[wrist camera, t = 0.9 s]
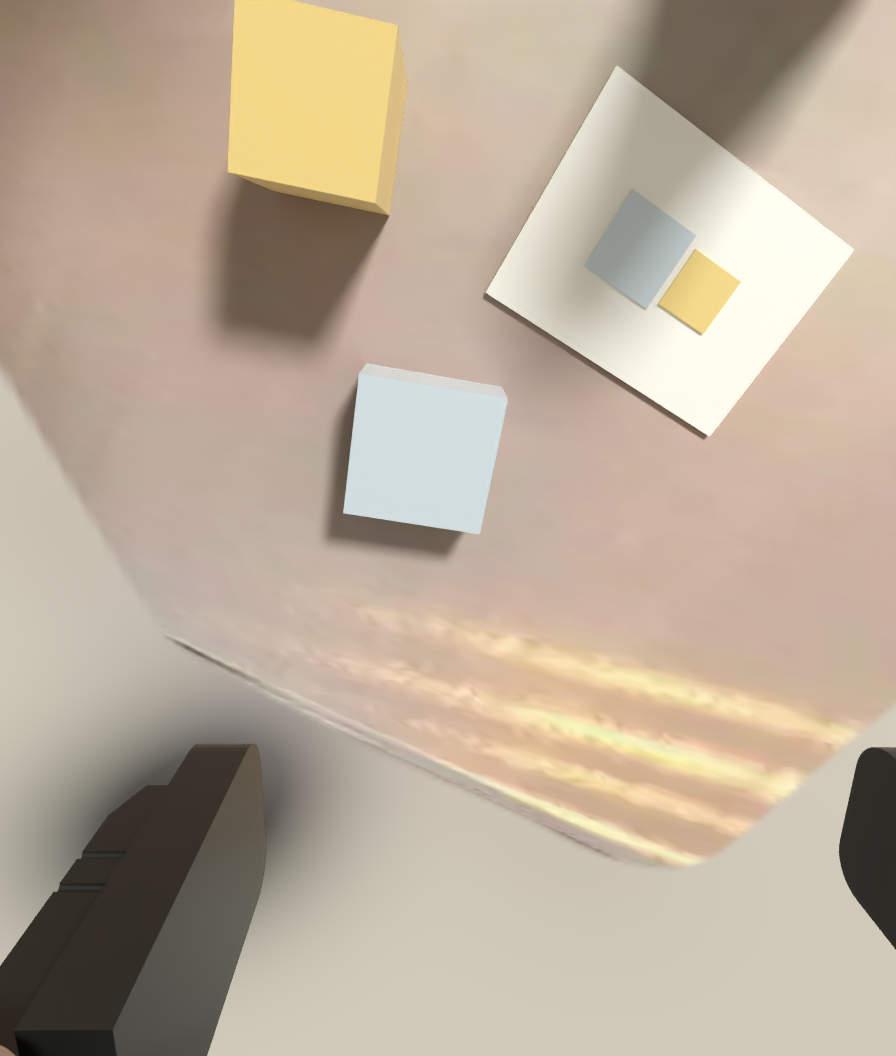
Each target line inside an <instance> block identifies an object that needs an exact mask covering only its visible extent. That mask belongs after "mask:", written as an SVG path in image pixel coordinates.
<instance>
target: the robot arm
mask: <svg viewBox="0 0 896 1056" xmlns="http://www.w3.org/2000/svg"><path fill="white" fill-rule="evenodd" d="M262 791H263V790H262V776H261V761H260V754H259V750H258V747H257V746H256V745H255V744H196V745H194V747H192V749H191V750H190V751H189V753H188V754H187V756H186V758H185V759H184V761H183V762H182V764H181V765H180V767H179V769H178V770H177V772H176V774H175V775H174V777H173V778H172V780H171V781H170V783H169V785H166V786H164V785H162V786H161V785H160V786H159V785H153V786H152V785H147V786H146V787H144V788H143V789H142V790H140V791H139V792H138V793H137V794H136V795H134V796H133V797H131V798H130V799H129V800H128V801H126V802H125V803H124V804H122V805H121V806H120V807H118V808H117V809H116V810H115V811H114V812H112V813H111V814H110V815H108V817H107V818H106V820H105V821H104V822H103V824H102V825H101V827H100V828H99V829H98V831H97V832H96V834H95V835H94V836H93V838H92V839H91V840H90V842H89V843H88V845H87V846H86V848H85V849H84V850H83V854H82V858H81V859H77V860H76V861H75V863H74V864H73V865H72V867H71V868H70V870H69V871H68V873H67V874H66V875H65V877H64V878H63V879H62V881H61V882H60V886H59V890H58V892H53V894H52V895H51V896H50V898H49V899H48V900H47V902H46V903H45V904H44V906H43V907H42V909H41V910H40V912H39V913H38V914H37V916H36V917H35V918H34V920H33V921H32V923H31V924H30V925H29V927H28V928H27V930H26V931H25V932H24V934H23V935H22V937H21V938H20V939H19V941H18V942H17V944H16V945H15V946H14V948H13V949H12V951H11V952H10V953H9V955H8V956H7V957H6V959H5V960H4V962H3V963H2V965H1V966H0V1056H207V1054H208V1051H209V1048H210V1045H211V1042H212V1039H213V1036H214V1033H215V1030H216V1026H217V1024H218V1020H219V1017H220V1014H221V1011H222V1008H223V1005H224V1002H225V999H226V996H227V993H228V990H229V987H230V983H231V981H232V978H233V975H234V972H235V969H236V965H237V963H238V959H239V956H240V953H241V950H242V947H243V944H244V941H245V938H246V935H247V932H248V929H249V926H250V923H251V920H252V917H253V913H254V911H255V907H256V904H257V901H258V898H259V895H260V891H261V887H262V881H263V876H264V869H265V860H266V833H265V820H264V805H263V792H262ZM839 856H840V863H841V867H842V871H843V874H844V877H845V880H846V882H847V884H848V886H849V888H850V890H851V892H852V894H853V895H854V896H855V898H856V899H857V901H858V902H859V903H860V904H861V906H862V907H863V908H864V910H865V911H866V912H867V913H868V915H869V916H870V917H871V919H872V920H873V921H874V922H875V924H876V925H877V926H878V927H879V929H880V930H881V931H882V932H883V934H884V935H885V936H886V938H887V939H888V940H889V941H890V943H891V944H892V945H893V946H894V948H895V949H896V748H888V747H883V748H882V747H880V748H879V747H877V748H875V747H873V748H868V749H866V750H865V751H864V752H863V753H862V754H861V755H860V757H859V759H858V761H857V765H856V769H855V774H854V779H853V783H852V788H851V793H850V797H849V801H848V806H847V811H846V815H845V820H844V825H843V829H842V834H841V839H840V844H839Z"/></svg>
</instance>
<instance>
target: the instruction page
mask: <svg viewBox="0 0 896 1056" xmlns="http://www.w3.org/2000/svg"><path fill="white" fill-rule="evenodd" d="M853 251H854V249H853V248H852V247H850V246H849V245H848V244H847V243H845V242H844V241H843V240H841V239H840V238H839V237H837V236H836V235H835V234H834V233H832V232H831V231H830V230H828V229H827V228H826V227H825V226H823V225H822V224H821V223H819V222H818V221H817V220H816V219H814V218H813V217H812V216H810V215H809V214H808V213H807V212H805V211H804V210H803V209H801V208H800V207H799V206H798V205H796V204H795V203H794V202H792V201H791V200H790V199H789V198H787V197H786V196H785V195H783V194H782V193H781V192H780V191H778V190H777V189H776V188H774V187H773V186H772V185H771V184H769V183H768V182H767V181H765V180H764V179H763V178H762V177H760V176H759V175H758V174H756V173H755V172H754V171H752V170H751V169H750V168H749V167H747V166H746V165H745V164H743V163H742V162H741V161H740V160H738V159H737V158H736V157H734V156H733V155H732V154H731V153H729V152H728V151H727V150H725V149H724V148H723V147H722V146H720V145H719V144H718V143H716V142H715V141H714V140H713V139H711V138H710V137H709V136H707V135H706V134H705V133H704V132H702V131H701V130H700V129H698V128H697V127H696V126H695V125H693V124H692V123H691V122H689V121H688V120H687V119H686V118H684V117H683V116H682V115H680V114H679V113H678V112H677V111H675V110H674V109H673V108H671V107H670V106H669V105H667V104H666V103H665V102H664V101H662V100H661V99H660V98H658V97H657V96H656V95H655V94H653V93H652V92H651V91H649V90H648V89H647V88H646V87H644V86H643V85H642V84H640V83H639V82H638V81H637V80H635V79H634V78H633V77H631V76H630V75H629V74H628V73H626V72H625V71H624V70H622V69H621V68H620V67H619V66H616V67H615V68H614V70H613V72H612V74H611V75H610V77H609V79H608V81H607V82H606V84H605V86H604V87H603V89H602V91H601V93H600V94H599V96H598V98H597V100H596V101H595V103H594V105H593V107H592V108H591V110H590V112H589V113H588V115H587V117H586V119H585V120H584V122H583V124H582V126H581V127H580V129H579V131H578V133H577V134H576V136H575V138H574V140H573V141H572V143H571V145H570V146H569V148H568V150H567V152H566V153H565V155H564V157H563V159H562V160H561V162H560V164H559V166H558V167H557V169H556V171H555V172H554V174H553V176H552V178H551V179H550V181H549V183H548V185H547V186H546V188H545V190H544V192H543V193H542V195H541V197H540V199H539V200H538V202H537V204H536V205H535V207H534V209H533V211H532V212H531V214H530V216H529V218H528V219H527V221H526V223H525V225H524V226H523V228H522V230H521V231H520V233H519V235H518V237H517V238H516V240H515V242H514V244H513V245H512V247H511V249H510V251H509V252H508V254H507V256H506V258H505V259H504V261H503V263H502V264H501V266H500V268H499V270H498V271H497V273H496V275H495V277H494V278H493V280H492V282H491V284H490V285H489V287H488V289H487V290H486V292H485V293H487V294H488V295H490V296H491V297H493V298H494V299H496V300H498V301H499V302H501V303H502V304H504V305H505V306H507V307H508V308H510V309H512V310H513V311H515V312H516V313H518V314H519V315H521V316H523V317H524V318H526V319H527V320H529V321H530V322H532V323H533V324H535V325H537V326H538V327H540V328H541V329H543V330H544V331H546V332H547V333H549V334H551V335H552V336H554V337H555V338H557V339H558V340H560V341H561V342H563V343H565V344H566V345H568V346H569V347H571V348H572V349H574V350H575V351H577V352H579V353H580V354H582V355H583V356H585V357H586V358H588V359H589V360H591V361H593V362H594V363H596V364H597V365H599V366H600V367H602V368H603V369H605V370H607V371H608V372H610V373H611V374H613V375H614V376H616V377H617V378H619V379H621V380H622V381H624V382H625V383H627V384H628V385H630V386H631V387H633V388H635V389H636V390H638V391H639V392H641V393H642V394H644V395H645V396H647V397H649V398H650V399H652V400H653V401H655V402H656V403H658V404H659V405H661V406H663V407H664V408H666V409H667V410H669V411H670V412H672V413H673V414H675V415H677V416H678V417H680V418H681V419H683V420H684V421H686V422H687V423H689V424H691V425H692V426H694V427H695V428H697V429H698V430H700V431H701V432H703V433H705V434H706V435H708V436H709V437H710V436H711V434H712V433H713V432H714V430H715V429H716V428H717V427H718V425H719V424H720V423H721V421H722V420H723V419H724V417H725V416H726V415H727V414H728V412H729V411H730V410H731V408H732V407H733V406H734V405H735V403H736V402H737V401H738V399H739V398H740V397H741V396H742V394H743V393H744V392H745V390H746V389H747V388H748V387H749V385H750V384H751V383H752V381H753V380H754V379H755V377H756V376H757V375H758V374H759V372H760V371H761V370H762V368H763V367H764V366H765V365H766V363H767V362H768V361H769V359H770V358H771V357H772V356H773V354H774V353H775V352H776V350H777V349H778V348H779V347H780V345H781V344H782V343H783V341H784V340H785V339H786V337H787V336H788V335H789V334H790V332H791V331H792V330H793V328H794V327H795V326H796V325H797V323H798V322H799V321H800V319H801V318H802V317H803V316H804V314H805V313H806V312H807V310H808V309H809V308H810V307H811V305H812V304H813V303H814V301H815V300H816V299H817V297H818V296H819V295H820V294H821V292H822V291H823V290H824V288H825V287H826V286H827V285H828V283H829V282H830V281H831V279H832V278H833V277H834V276H835V274H836V273H837V272H838V270H839V269H840V268H841V267H842V265H843V264H844V263H845V261H846V260H847V259H848V257H849V256H850V255H851V254H852V252H853Z"/></svg>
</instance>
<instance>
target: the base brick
mask: <svg viewBox="0 0 896 1056" xmlns="http://www.w3.org/2000/svg"><path fill="white" fill-rule="evenodd" d="M507 402H508V398H507V396H506V394H505V392H504V390H503V388H502V387H500V386H495V385H489V384H483V383H477V382H471V381H466V380H460V379H454V378H448V377H442V376H437V375H431V374H425V373H419V372H414V371H408V370H402V369H396V368H390V367H385V366H379V365H373V364H367V363H366V365H365V366H364V368H363V369H362V370H361V372H360V373H359V379H358V387H357V396H356V405H355V414H354V423H353V431H352V440H351V449H350V458H349V467H348V475H347V484H346V493H345V502H344V510H343V513H345V514H351V515H358V516H364V517H371V518H377V519H384V520H390V521H397V522H403V523H410V524H416V525H423V526H429V527H436V528H442V529H449V530H456V531H462V532H469V533H475V534H480V530H481V525H482V521H483V516H484V511H485V506H486V502H487V497H488V492H489V487H490V483H491V478H492V473H493V469H494V464H495V459H496V454H497V450H498V445H499V440H500V435H501V431H502V426H503V421H504V416H505V412H506V407H507Z"/></svg>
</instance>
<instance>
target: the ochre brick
mask: <svg viewBox="0 0 896 1056" xmlns="http://www.w3.org/2000/svg"><path fill="white" fill-rule="evenodd" d="M407 83H408V80H407V75H406V69H405V64H404V58H403V52H402V47H401V41H400V35H399V30H398V25H394V24H390V23H385V22H381V21H377V20H373V19H368V18H364V17H360V16H356V15H352V14H347V13H343V12H339V11H335V10H330V9H326V8H322V7H318V6H313V5H309V4H305V3H301V2H296V1H292V0H235V6H234V30H233V55H232V79H231V104H230V128H229V153H228V172H229V173H231V174H234V175H236V176H239V177H241V178H244V179H246V180H248V181H251V182H253V183H256V184H258V185H261V186H263V187H265V188H268V189H270V190H273V191H275V192H279V193H284V194H289V195H294V196H299V197H303V198H308V199H313V200H318V201H322V202H327V203H332V204H337V205H342V206H346V207H351V208H356V209H361V210H365V211H370V212H375V213H380V214H385V215H389V216H390V209H391V202H392V194H393V187H394V179H395V172H396V165H397V157H398V150H399V142H400V135H401V127H402V120H403V113H404V105H405V98H406V90H407Z"/></svg>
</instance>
